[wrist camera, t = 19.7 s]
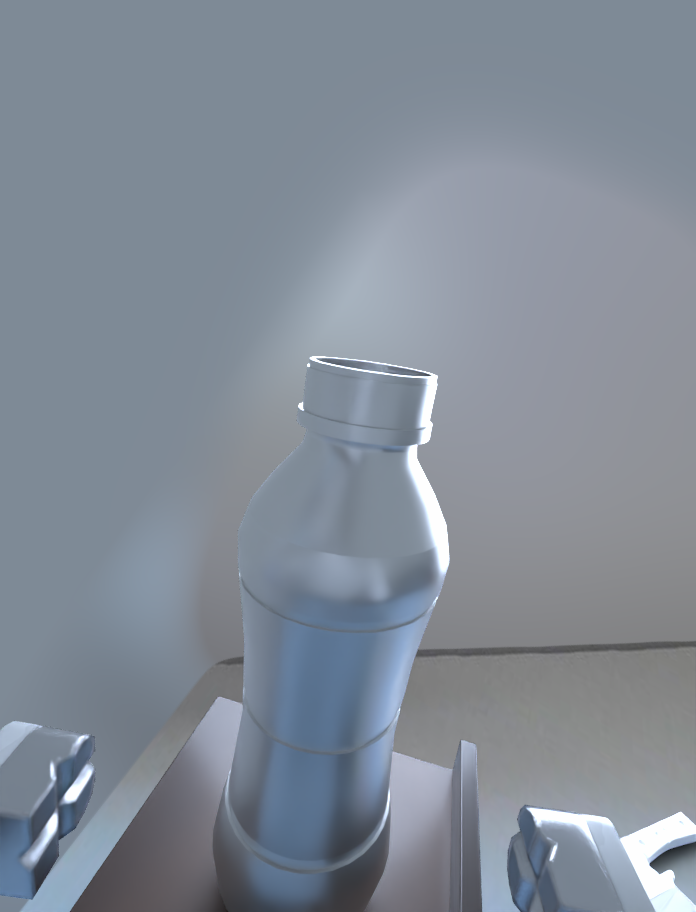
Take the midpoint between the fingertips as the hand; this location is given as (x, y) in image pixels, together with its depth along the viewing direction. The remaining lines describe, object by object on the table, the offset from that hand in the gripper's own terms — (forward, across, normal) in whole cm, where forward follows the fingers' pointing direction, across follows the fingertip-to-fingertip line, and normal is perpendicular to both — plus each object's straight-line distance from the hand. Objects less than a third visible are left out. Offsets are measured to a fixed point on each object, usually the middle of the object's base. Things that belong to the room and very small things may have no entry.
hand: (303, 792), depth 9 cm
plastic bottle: (+7, 0, +13) cm, 14 cm away
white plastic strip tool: (+17, -23, +25) cm, 38 cm away
